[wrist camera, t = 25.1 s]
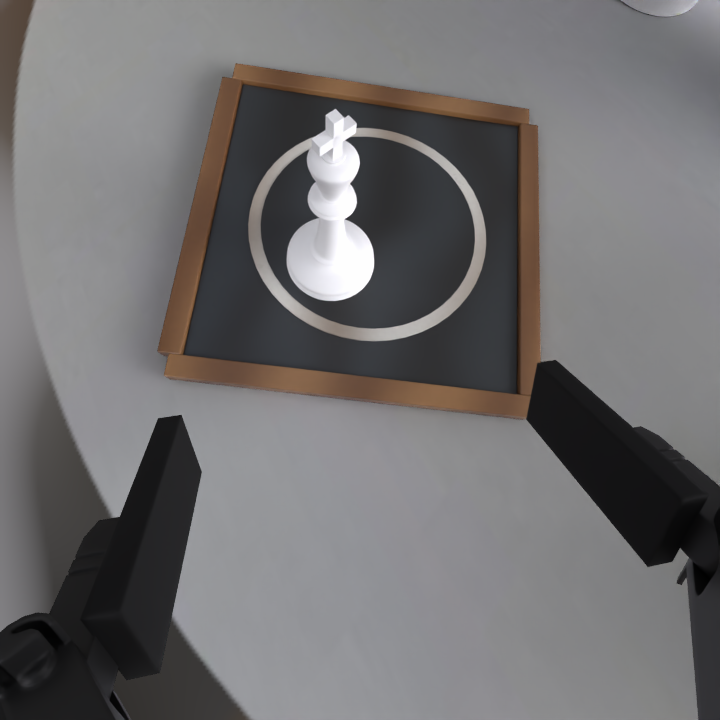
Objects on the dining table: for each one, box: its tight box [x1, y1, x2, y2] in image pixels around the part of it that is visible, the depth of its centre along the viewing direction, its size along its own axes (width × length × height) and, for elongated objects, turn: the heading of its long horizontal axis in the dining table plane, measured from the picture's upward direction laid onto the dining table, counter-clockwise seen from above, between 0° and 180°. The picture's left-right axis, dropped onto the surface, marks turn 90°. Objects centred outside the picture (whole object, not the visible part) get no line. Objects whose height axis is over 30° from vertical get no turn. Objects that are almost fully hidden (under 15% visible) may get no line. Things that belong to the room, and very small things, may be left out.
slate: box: [157, 63, 541, 420], centre depth 24 cm, size 20×20×1 cm
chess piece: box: [287, 109, 374, 301], centre depth 19 cm, size 5×5×10 cm
